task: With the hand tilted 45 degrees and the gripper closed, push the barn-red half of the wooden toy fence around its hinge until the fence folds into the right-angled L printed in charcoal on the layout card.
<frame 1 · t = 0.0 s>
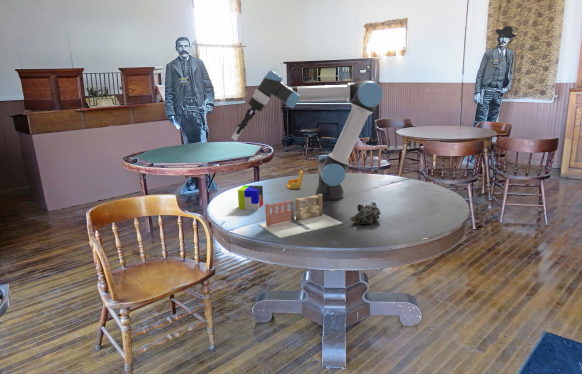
hand: (234, 137, 217), 36 cm above the table, tool tilted 35°, fingers open, 13 cm apart
mineral specimen: (364, 222, 200), on the table
hinged fence half: (280, 212, 197), point 6 cm above the table, hinge at 0.0°
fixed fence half: (292, 221, 202), resting on layout card
layout card: (300, 224, 198), on the table
puzzle toy: (251, 207, 226), on the table
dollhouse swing: (294, 187, 263), on the table
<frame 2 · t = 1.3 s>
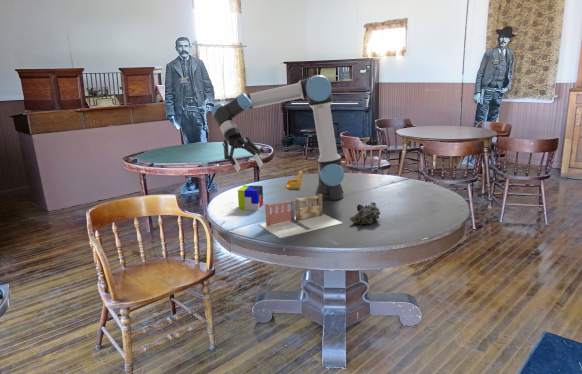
hand: (250, 167, 205), 24 cm above the table, tool tilted 45°, fingers open, 12 cm apart
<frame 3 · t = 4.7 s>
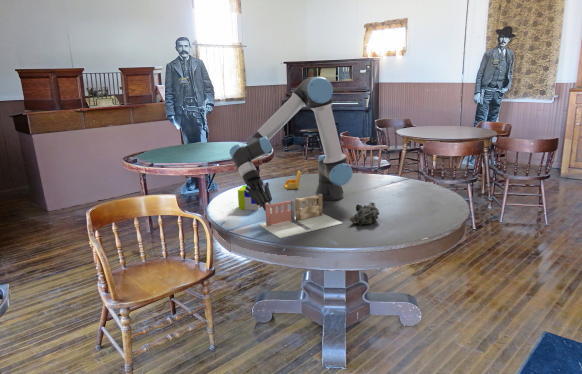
hand: (272, 216, 198), 4 cm above the table, tool tilted 45°, fingers closed
hinged fence half: (280, 212, 197), point 6 cm above the table, hinge at 0.3°, touching gripper
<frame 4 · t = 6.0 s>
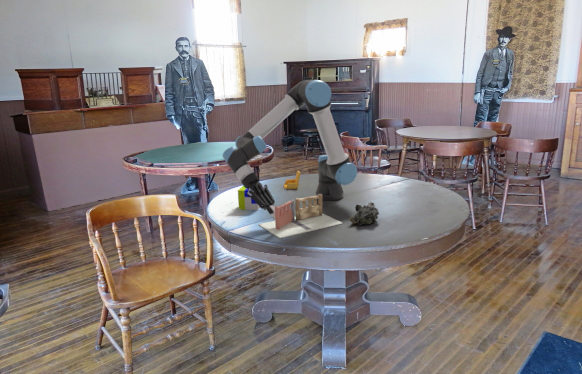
hand: (278, 218, 194), 4 cm above the table, tool tilted 45°, fingers closed, pressing on hinged fence half
hinged fence half: (285, 213, 195), point 6 cm above the table, hinge at 28.6°, touching gripper
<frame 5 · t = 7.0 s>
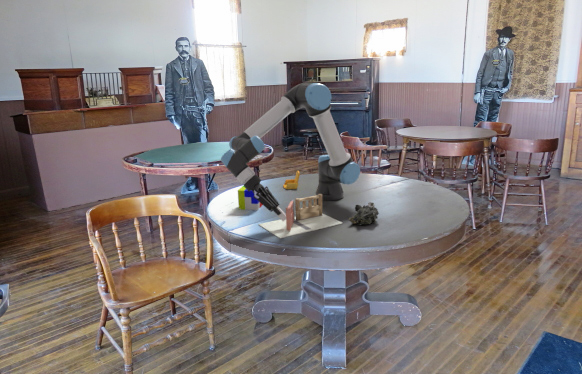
hand: (285, 219, 193), 4 cm above the table, tool tilted 45°, fingers closed
hinged fence half: (290, 214, 194), point 6 cm above the table, hinge at 51.7°, touching gripper
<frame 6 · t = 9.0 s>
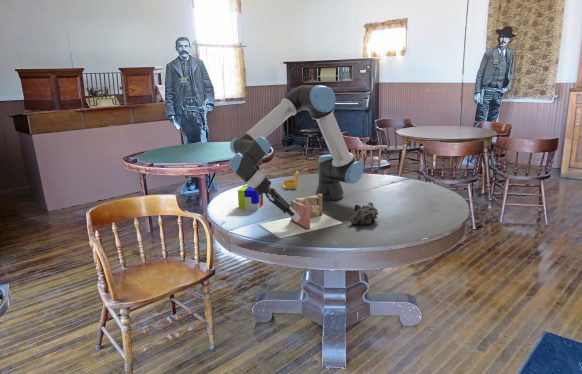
hand: (298, 219, 193), 4 cm above the table, tool tilted 45°, fingers closed
hinged fence half: (300, 213, 195), point 6 cm above the table, hinge at 90.3°, touching gripper
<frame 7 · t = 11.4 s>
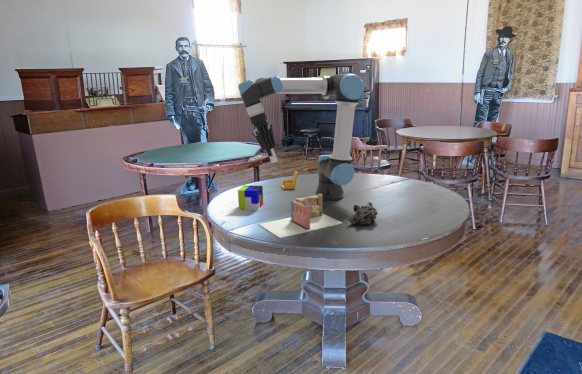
hand: (274, 162, 207), 26 cm above the table, tool tilted 20°, fingers closed
hinged fence half: (300, 213, 195), point 6 cm above the table, hinge at 90.4°
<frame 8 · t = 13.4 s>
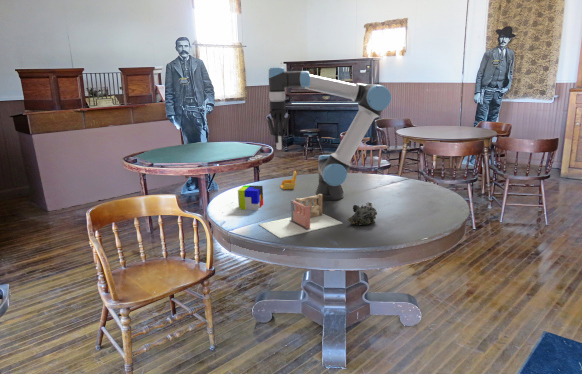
hand: (279, 149, 218), 29 cm above the table, tool pointing down, fingers closed
at the end: hinged fence half at +90° (first picture: +0°) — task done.
